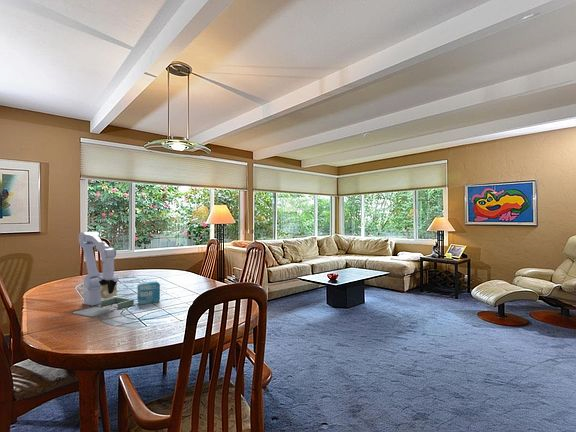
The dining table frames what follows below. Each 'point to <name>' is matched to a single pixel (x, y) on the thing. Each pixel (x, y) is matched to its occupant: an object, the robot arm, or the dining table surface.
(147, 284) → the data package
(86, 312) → the rubber mat
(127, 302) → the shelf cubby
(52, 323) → the dining table surface
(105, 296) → the block
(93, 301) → the robot arm
